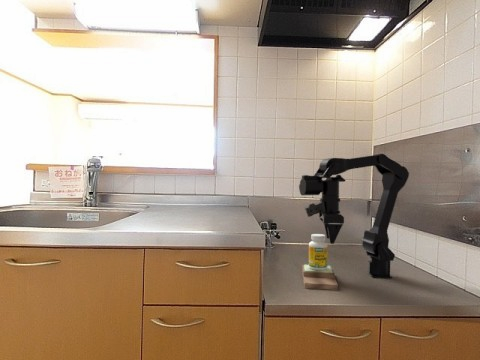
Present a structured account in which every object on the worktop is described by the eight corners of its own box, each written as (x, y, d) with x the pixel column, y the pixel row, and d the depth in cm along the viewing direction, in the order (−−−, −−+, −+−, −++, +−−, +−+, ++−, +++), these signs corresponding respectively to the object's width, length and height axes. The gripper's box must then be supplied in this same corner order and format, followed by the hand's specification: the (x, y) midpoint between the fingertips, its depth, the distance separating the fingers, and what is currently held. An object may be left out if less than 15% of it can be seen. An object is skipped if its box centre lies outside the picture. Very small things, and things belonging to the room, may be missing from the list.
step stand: (330, 274, 118) (330, 265, 118) (337, 289, 102) (338, 279, 102) (302, 273, 119) (302, 264, 119) (304, 287, 104) (304, 277, 103)
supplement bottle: (322, 265, 118) (322, 233, 118) (330, 270, 112) (331, 236, 112) (305, 266, 117) (305, 233, 116) (313, 271, 110) (313, 237, 110)
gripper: (304, 193, 124) (304, 235, 124) (307, 196, 105) (307, 246, 106) (335, 193, 122) (335, 236, 122) (344, 197, 104) (344, 247, 104)
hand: (330, 240), depth 114 cm, fingers open, 9 cm apart
